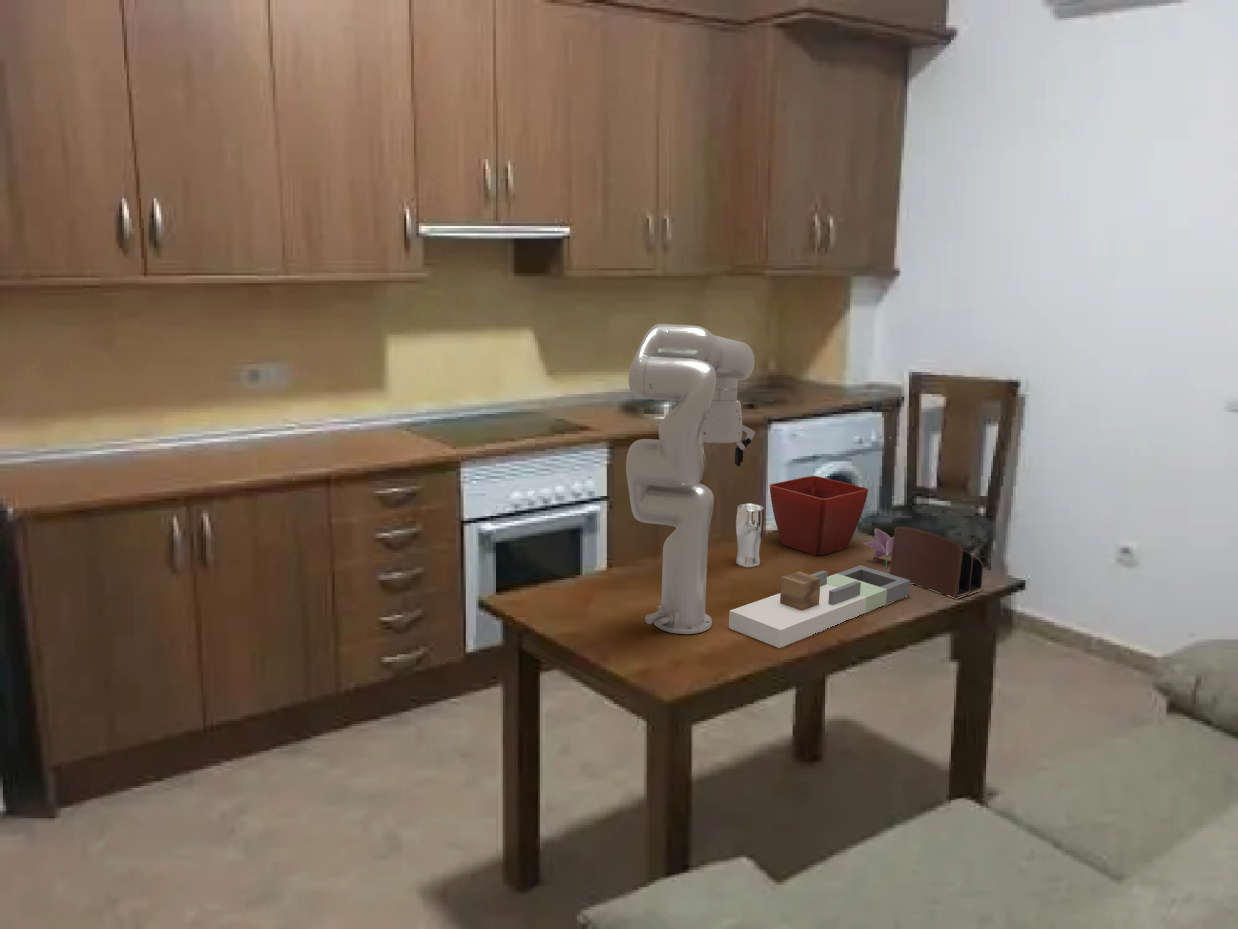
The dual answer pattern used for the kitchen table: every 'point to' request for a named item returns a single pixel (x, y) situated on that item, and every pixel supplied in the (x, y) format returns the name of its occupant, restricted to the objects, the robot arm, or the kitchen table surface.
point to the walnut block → (800, 590)
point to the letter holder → (934, 562)
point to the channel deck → (819, 606)
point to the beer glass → (749, 534)
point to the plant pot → (817, 513)
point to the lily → (881, 544)
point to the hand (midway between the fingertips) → (717, 465)
